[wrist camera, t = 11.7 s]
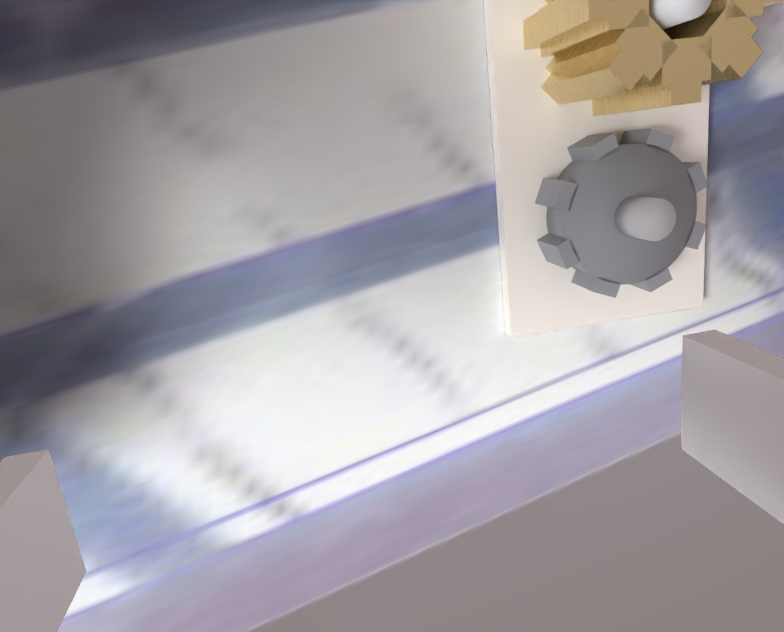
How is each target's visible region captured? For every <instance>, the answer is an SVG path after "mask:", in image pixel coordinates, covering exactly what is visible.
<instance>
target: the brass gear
mask: <svg viewBox="0 0 784 632" xmlns="http://www.w3.org/2000/svg"><path fill="white" fill-rule="evenodd" d="M545 1H546V2H547V3H548V4H547V5H546V6H544V7H542V8H541V9H539V11H538V12H537V13H535V14H533V15H531V16H530V17H528V18H526V19H525V20H523V32H524V50H530V49H539V48H540V50H541V57H550V56H554V57H553V59H552V60H551V61H550V62H549V64H548V65H547V66H546V69H547V70H548V71H549V72H550V73H551V74H550V76H549V77H548V78H547V80H546V81H545V82H544V83H543V85H542V86H541V88H542V89H543V90H544V91H545V92H546V93H547V94H548V95H549V96H550V97H551V98H552V99H553V100H554V101H555V102H556V103H557V104H558V105H561V104H567V103H572V102H577V101H582V100H591V99H592V110H593V116H600V115H609V114H617V113H625V112H632V111H639V110H647V109H654V108H661V107H669V106H676V105H683V104H691V103H698V102H701V85H706V84H712V83H717V82H723V81H729V80H734V79H740V78H742V77H743V76H744V75H745V73H746V72H747V71H748V70H749V68H750V67H751V66H752V65H753V64H754V62H755V61H756V60H757V59H758V57H759V56H760V55H761V54H762V52H763V50H762V49H761V48H760V47H759V46H758V45H757V43H756V42H755V41H754V40H753V39H752V38H751V37H752V36H753V34H754V33H755V32H756V31H757V29H758V28H757V27H756V26H755V25H754V23H753V22H752V21H751V20H750V18H754V17H757V16H760V15H763V12H764V7H767V6H770V5H773V4H776V3H779V2H782V1H783V0H712V1H711V3H710V5H709V7H708V9H707V10H706V11H705V12H704V13H703V14H702V15H701V16H699V17H697V18H695V19H692V20H689V21H686V22H683V23H681V24H678V25H675V26H672V27H669V28H666V29H663V30H662V29H661V28H660V27H659V26H658V24H657V23H656V22H655V21H654V20H653V19H652V18H651V17H650V16H649V0H545Z"/></svg>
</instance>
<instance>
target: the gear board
mask: <svg viewBox="0 0 784 632" xmlns="http://www.w3.org/2000/svg"><path fill="white" fill-rule="evenodd" d="M711 1H712V0H649V16H650V17H651V18H652V19H653V20H654V21H655V22H656V23H657V24H658V26H659V27H660V28H661V29H662V30H663V29H666V28H669V27H672V26H675V25H678V24H681V23H683V22H686V21H689V20H692V19H695V18H697V17H699V16H701V15H702V14H703V13H704V12H705V11H706V10H707V9H708V7H709V5H710V3H711ZM547 4H548V3H547V2H546V1H545V0H484V12H485V28H486V43H487V59H488V74H489V90H490V105H491V120H492V136H493V151H494V167H495V182H496V198H497V213H498V228H499V244H500V259H501V275H502V290H503V305H504V321H505V333H506V334H507V335H508V336H510V337H511V338H515V337H521V336H527V335H533V334H539V333H545V332H551V331H557V330H564V329H570V328H576V327H582V326H588V325H594V324H600V323H606V322H612V321H618V320H624V319H631V318H637V317H643V316H649V315H655V314H661V313H667V312H673V311H679V310H685V309H691V308H697V307H703V292H704V258H705V229H706V227H707V224H706V191H707V187H708V183H707V157H708V123H709V89H710V84H706V85H701V102H698V103H691V104H683V105H676V106H669V107H661V108H654V109H647V110H639V111H632V112H625V113H617V114H609V115H600V116H593V110H592V99H591V100H582V101H577V102H572V103H567V104H561V105H558V104H557V103H556V102H555V101H554V100H553V99H552V98H551V97H550V96H549V95H548V94H547V93H546V92H545V91H544V90H543V89H542V88H541V86H542V85H543V83H544V82H545V81H546V80H547V78H548V77H549V76H550V74H551V73H550V72H549V71H548V70H547V69H546V66H547V65H548V64H549V62H550V61H551V60H552V59H553V57H554V56H550V57H541V50H540V48H539V49H530V50H524V32H523V20H525V19H526V18H528V17H530V16H531V15H533V14H535V13H537V12H538V11H539V9H541V8H542V7H544V6H546V5H547Z"/></svg>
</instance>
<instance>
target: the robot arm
mask: <svg viewBox="0 0 784 632" xmlns="http://www.w3.org/2000/svg"><path fill="white" fill-rule="evenodd" d="M681 449H682V450H684V451H685V452H687V453H688V454H689V455H691V456H692V457H693V458H695V459H696V460H697V461H699V462H700V463H702V464H703V465H704V466H706V467H707V468H708V469H710V470H711V471H712V472H714V473H715V474H716V475H718V476H719V477H720V478H722V479H723V480H725V481H726V482H727V483H729V484H730V485H731V486H733V487H734V488H735V489H737V490H738V491H740V492H741V493H742V494H744V495H745V496H746V497H748V498H749V499H750V500H752V501H753V502H755V503H756V504H757V505H759V506H760V507H761V508H763V509H764V510H766V511H767V512H768V513H769V514H771V515H772V516H773V517H775V518H776V519H778V520H779V521H780V522H782V523H783V524H784V357H781V356H779V355H776V354H774V353H771V352H769V351H766V350H764V349H761V348H759V347H756V346H754V345H751V344H749V343H746V342H744V341H741V340H739V339H736V338H734V337H731V336H729V335H726V334H724V333H721V332H719V331H716V330H711V331H705V332H700V333H694V334H689V335H683V358H682V424H681ZM85 573H86V569H85V566H84V562H83V559H82V556H81V553H80V549H79V546H78V543H77V540H76V537H75V533H74V530H73V527H72V524H71V520H70V517H69V514H68V511H67V507H66V504H65V501H64V498H63V494H62V491H61V488H60V485H59V482H58V478H57V475H56V472H55V469H54V465H53V462H52V459H51V456H50V452H49V449H47V450H41V451H36V452H30V453H24V454H19V455H13V456H8V457H5V458H4V459H3V460H2V461H1V462H0V632H57V631H58V629H59V627H60V624H61V622H62V620H63V618H64V616H65V614H66V612H67V610H68V608H69V606H70V604H71V602H72V600H73V598H74V596H75V593H76V591H77V589H78V587H79V585H80V583H81V581H82V579H83V577H84V575H85Z"/></svg>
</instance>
